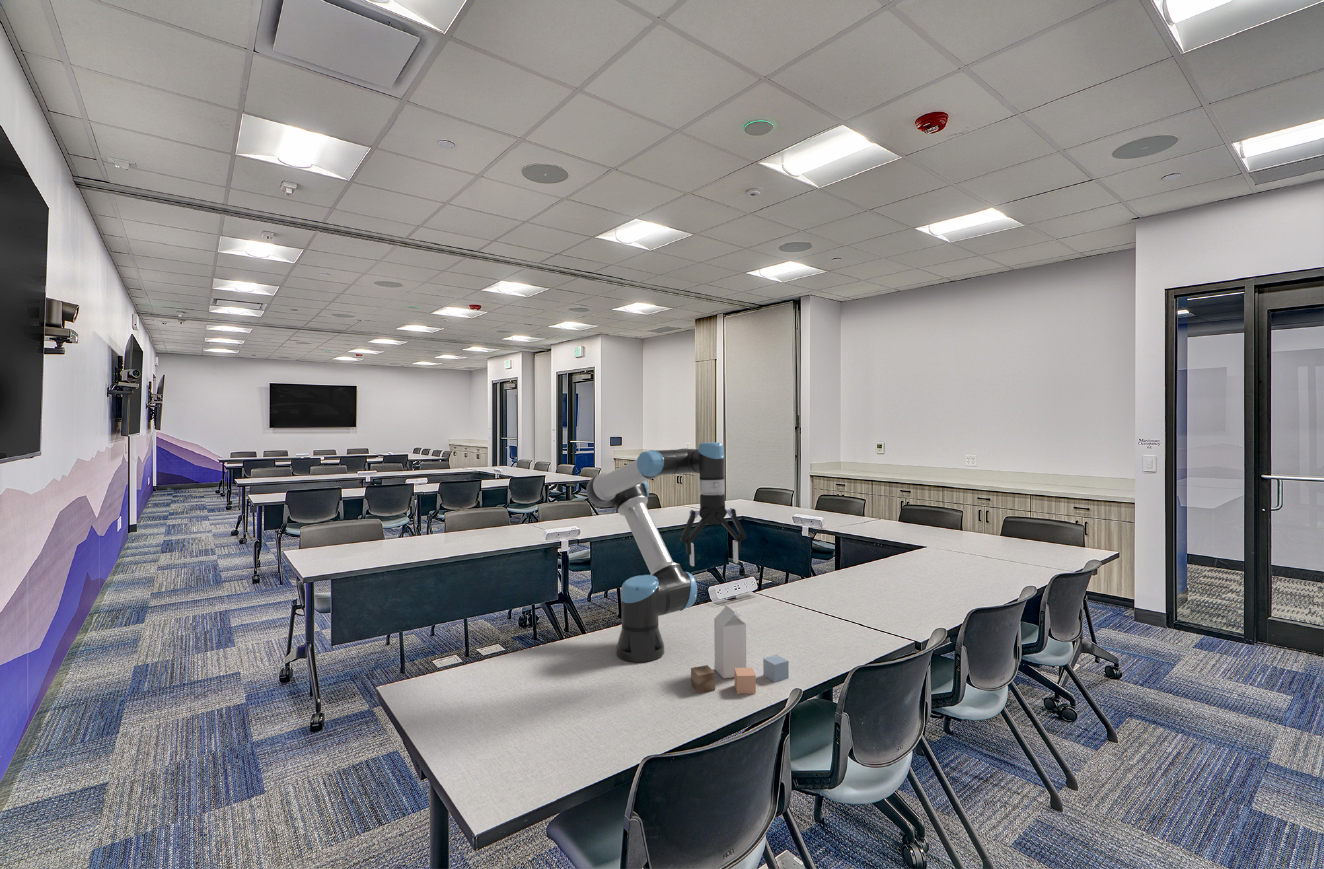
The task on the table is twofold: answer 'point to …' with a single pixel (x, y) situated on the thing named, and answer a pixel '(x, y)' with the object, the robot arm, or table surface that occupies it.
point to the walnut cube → (703, 679)
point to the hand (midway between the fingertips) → (714, 563)
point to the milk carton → (729, 642)
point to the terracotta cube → (744, 680)
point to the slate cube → (775, 668)
